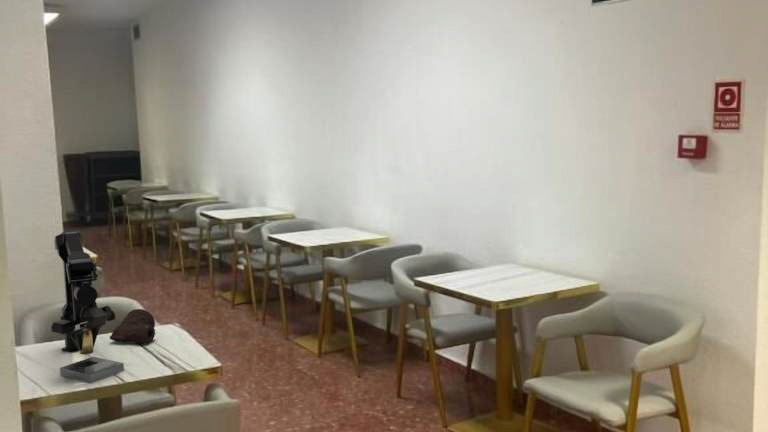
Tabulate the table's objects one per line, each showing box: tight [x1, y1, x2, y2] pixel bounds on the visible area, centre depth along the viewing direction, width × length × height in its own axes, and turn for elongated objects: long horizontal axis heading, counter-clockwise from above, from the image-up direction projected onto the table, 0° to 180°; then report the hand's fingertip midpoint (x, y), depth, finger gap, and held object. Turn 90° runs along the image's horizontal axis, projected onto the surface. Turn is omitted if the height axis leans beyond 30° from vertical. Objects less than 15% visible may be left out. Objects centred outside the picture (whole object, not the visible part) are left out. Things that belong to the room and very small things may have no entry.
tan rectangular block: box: [78, 328, 95, 356], centre depth 224 cm, size 4×4×7 cm
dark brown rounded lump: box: [109, 308, 156, 346], centre depth 258 cm, size 10×15×15 cm
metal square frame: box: [59, 356, 125, 384], centre depth 224 cm, size 14×12×3 cm
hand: (86, 348), depth 224 cm, fingers closed on tan rectangular block, 4 cm apart
